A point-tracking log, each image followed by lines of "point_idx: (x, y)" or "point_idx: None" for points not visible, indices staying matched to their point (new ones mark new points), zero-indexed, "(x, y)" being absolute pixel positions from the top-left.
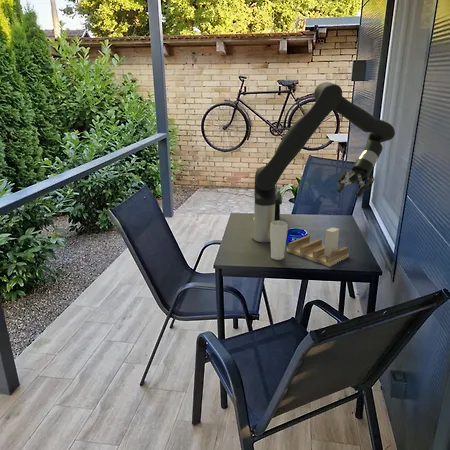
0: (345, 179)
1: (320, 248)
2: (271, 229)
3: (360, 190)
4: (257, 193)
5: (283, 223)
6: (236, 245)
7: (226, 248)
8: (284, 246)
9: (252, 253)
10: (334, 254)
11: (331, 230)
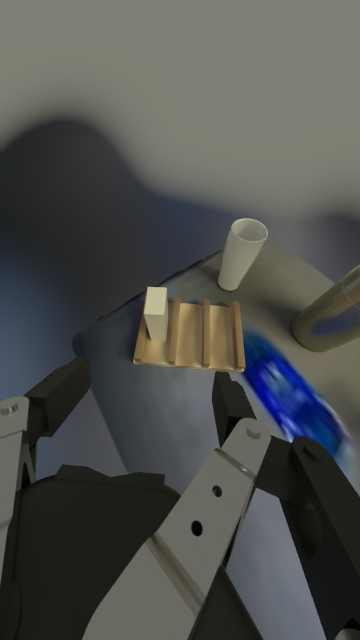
0: (232, 458)
1: (177, 316)
2: (249, 229)
3: (47, 384)
4: None
5: (250, 245)
6: (308, 281)
7: (305, 265)
8: (221, 267)
9: (265, 274)
10: (143, 309)
11: (155, 293)
